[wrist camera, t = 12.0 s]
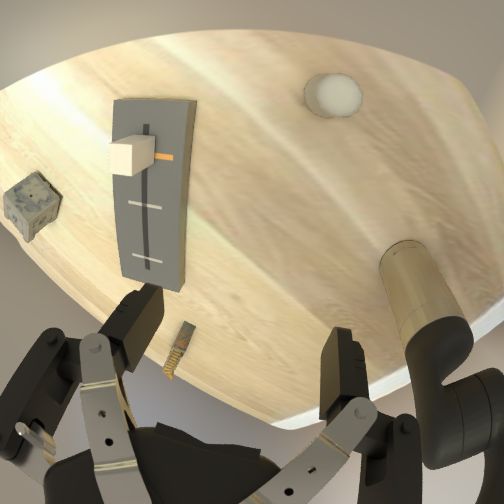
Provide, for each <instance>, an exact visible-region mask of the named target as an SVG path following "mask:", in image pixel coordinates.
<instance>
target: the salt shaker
mask: <svg viewBox="0 0 504 504" xmlns="http://www.w3.org/2000/svg"><path fill="white" fill-rule="evenodd" d="M304 99H305V101H306V104H307V106H308V108H309V109H310V110H311V111H313V112H314V113H315V114H316V115H318V116H321V117H324V118H335V117H336V118H345V117H349V116H351V115H353V114H355V113H356V112H358V110H359V108H360V106H361V105H362V99H363V93H362V91H361V88H360V86H359V84H358V83H357V82H356V81H355V80H354V79H353V78H352V77H350V76H347V75H344V74H341V73H335V74H319V75H317V76H315V77H314V78H312V79H310V80H309V82H308V83H307V85H306V87H305V88H304Z"/></svg>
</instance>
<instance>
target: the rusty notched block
mask: <svg viewBox="0 0 504 504" xmlns="http://www.w3.org/2000/svg"><path fill="white" fill-rule="evenodd" d="M195 328H196V326H194V325H192V324H190V323H188V322H186V321H185V322H184V324H183V326H182V328H181V330H180V332H179V334H178V336H177V338H176V340H175V342H174V344H173V347H172V349H171V351H170V353H169V356H168V358H167V360H166V362H165V365H164V367H163V373H164V374H166V375H167V376H168V378H169V379H170V380H171V381H172V378H174V377H173V375H174V370H175V369H176V367H177V365H178V363H179V361H180V360H181V358H182V357H183V354H184V353H185V351H186V349H187V346H188V344H189V341H190V339H191V337H192V334H193V332H194V329H195Z"/></svg>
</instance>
